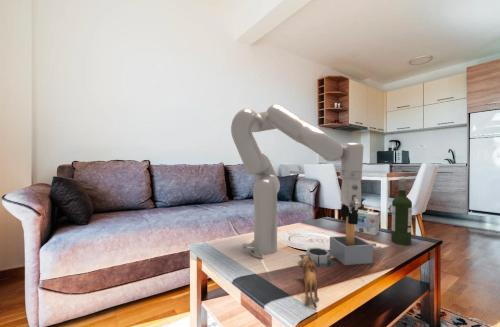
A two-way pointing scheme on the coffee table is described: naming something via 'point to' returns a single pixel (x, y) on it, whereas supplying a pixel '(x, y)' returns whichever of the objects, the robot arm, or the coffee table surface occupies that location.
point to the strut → (350, 233)
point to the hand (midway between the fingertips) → (348, 220)
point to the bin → (351, 251)
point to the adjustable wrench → (375, 246)
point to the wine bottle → (401, 216)
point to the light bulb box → (367, 222)
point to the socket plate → (320, 257)
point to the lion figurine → (309, 278)
